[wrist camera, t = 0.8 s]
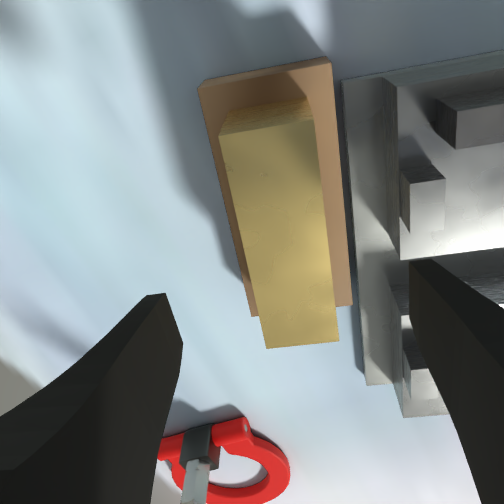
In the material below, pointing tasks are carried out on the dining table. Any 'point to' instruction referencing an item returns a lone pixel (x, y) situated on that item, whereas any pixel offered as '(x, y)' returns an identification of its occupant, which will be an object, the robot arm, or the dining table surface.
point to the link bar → (282, 219)
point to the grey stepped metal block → (423, 202)
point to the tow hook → (207, 458)
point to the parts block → (324, 113)
